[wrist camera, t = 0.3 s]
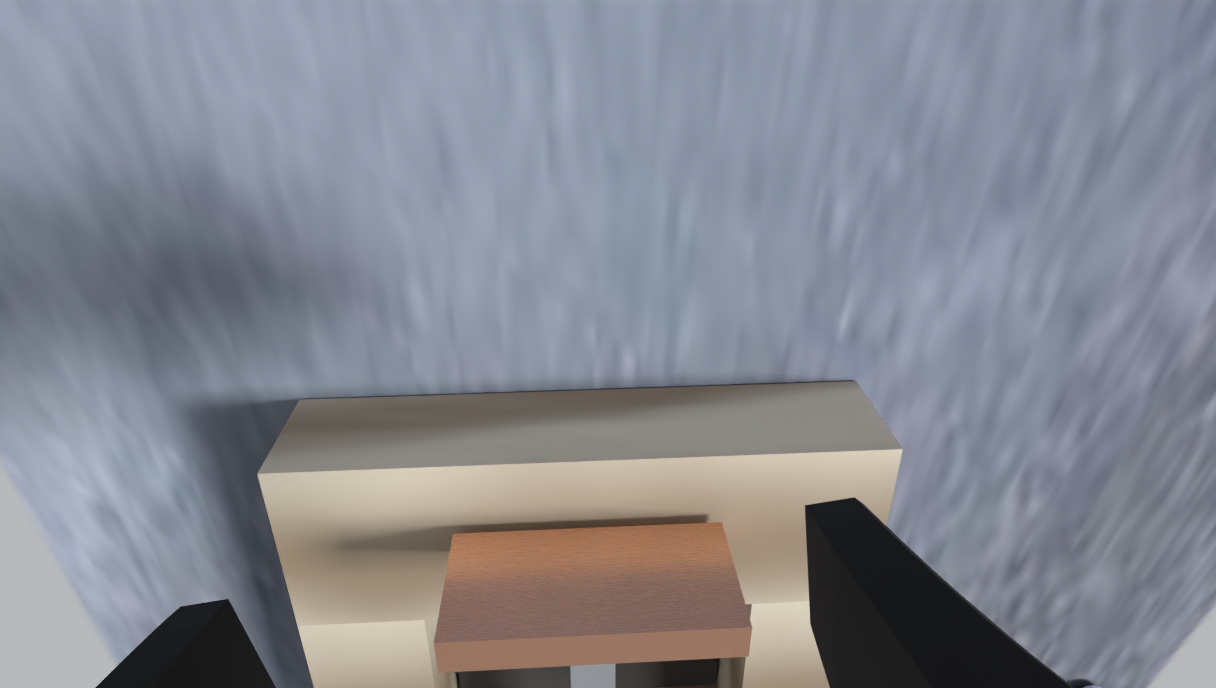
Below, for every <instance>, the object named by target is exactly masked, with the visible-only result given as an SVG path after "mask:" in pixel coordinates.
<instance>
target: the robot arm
mask: <svg viewBox="0 0 1216 688" xmlns="http://www.w3.org/2000/svg"><path fill="white" fill-rule="evenodd" d="M805 520H806V542H807V564H808V585H809V607H810V625H811V628H812V631H813V635H814V638H815V641H816V644H817V648H818V651H819V654H820V658H821V661H822V664H823V667H824V671H825V674H826V677H827V680H828V683H829V686H830V688H1074V687H1072V686H1071V685H1070V684H1068V683H1067V682H1066V681H1065V680H1063V679H1062V678H1061V677H1059V676H1058V675H1057V674H1056V673H1054V672H1053V671H1052V670H1050V669H1049V668H1048V667H1047V666H1045V665H1044V664H1043V663H1042V662H1040V661H1039V660H1038V659H1036V658H1035V657H1034V656H1033V655H1032V654H1030V653H1029V652H1028V651H1027V650H1025V649H1024V648H1023V647H1022V646H1021V645H1019V644H1018V643H1017V642H1016V641H1014V640H1013V639H1012V638H1011V637H1009V636H1008V635H1007V634H1006V633H1005V632H1004V631H1002V630H1001V629H1000V628H999V627H998V626H997V625H995V624H994V623H993V622H992V621H991V620H990V619H988V618H987V617H986V616H985V615H984V614H983V613H981V612H980V611H979V610H978V609H977V608H976V607H974V606H973V605H972V604H971V603H970V602H968V601H967V600H966V599H965V598H964V597H963V596H961V595H960V594H959V593H958V592H957V591H956V590H955V589H954V588H952V587H951V586H950V585H949V584H948V583H947V582H946V581H945V580H943V579H942V578H941V577H940V576H939V575H938V574H937V573H936V572H935V571H934V570H932V569H931V568H930V567H929V566H928V565H927V564H926V563H925V562H924V561H923V560H922V559H921V558H919V557H918V556H917V555H916V554H915V553H914V552H913V551H912V550H911V549H910V548H909V547H908V546H907V545H906V544H905V543H903V542H902V541H901V540H900V539H899V538H898V537H897V536H896V535H895V534H894V533H893V532H892V531H891V530H890V529H889V528H888V527H887V526H886V525H885V524H884V523H883V522H882V521H881V520H880V519H879V518H878V517H877V516H875V515H874V514H873V513H872V512H871V511H870V510H869V509H868V508H867V507H866V506H865V505H864V504H863V503H862V502H860V501H859V500H858V499H856V498H855V497H853V498H847V499H841V500H835V501H829V502H822V503H816V504H810V505H805ZM96 688H276V687H275V685H274V684H273V682H272V680H271V678H270V676H269V674H268V672H267V670H266V669H265V667H264V665H263V663H262V661H261V659H260V657H259V656H258V654H257V652H256V650H255V648H254V646H253V644H252V643H251V641H250V639H249V637H248V635H247V633H246V631H245V630H244V628H243V626H242V624H241V622H240V620H239V618H238V616H237V615H236V613H235V611H234V609H233V607H232V605H231V603H230V602H229V600H228V599H225V600H219V601H213V602H207V603H201V604H195V605H188V606H182V607H180V608H179V609H177V610H176V611H175V612H174V613H173V614H172V615H171V616H170V617H168V618H167V619H166V620H165V621H164V622H163V623H162V624H161V625H160V626H158V627H157V628H156V629H155V630H154V631H153V632H152V633H151V634H150V635H149V636H148V637H147V638H146V639H145V640H144V641H143V642H142V643H141V644H140V645H138V646H137V647H136V648H135V649H134V650H133V651H132V652H131V653H130V654H129V655H128V656H127V657H126V658H125V659H124V660H123V661H122V662H121V663H120V664H119V665H118V666H117V667H116V668H115V669H114V670H113V671H112V672H111V673H110V674H109V675H108V676H107V677H106V678H105V679H104V680H103V681H102V682H101V683H100V684H99V685H98V686H97V687H96ZM1083 688H1101V687H1099V686H1096V685H1090V686H1085V687H1083Z"/></svg>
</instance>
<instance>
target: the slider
mask: <svg viewBox="0 0 1216 688" xmlns="http://www.w3.org/2000/svg"><path fill="white" fill-rule="evenodd" d="M751 633H752V625H751V621H750V618H749V614H748V611H747V607H746V604H745V600H744V597H743V594H742V590H741V587H740V583H739V580H738V576H737V573H736V569H735V566H734V562H733V559H732V555H731V552H730V548H729V545H728V542H727V538H726V535H725V531H724V528H723V524H722V522H714V523H690V524H667V525H643V526H620V527H597V528H573V529H550V530H526V531H503V532H480V533H456V534H453V536H452V542H451V548H450V553H449V559H448V565H447V570H446V576H445V582H444V588H443V593H442V599H441V605H440V610H439V616H438V622H437V627H436V633H435V639H434V649H435V655H436V662H437V668H438V673H445V672H464V671H483V670H502V669H521V668H541V667H560V666H570V671H571V688H615V664H617V663H636V662H656V661H675V660H694V659H713V658H732V657H749V650H750V642H751Z"/></svg>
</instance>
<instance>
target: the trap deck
mask: <svg viewBox="0 0 1216 688" xmlns="http://www.w3.org/2000/svg"><path fill="white" fill-rule="evenodd" d="M902 451H903V449H902V447H901V446H900V444H899V443H898V441H897V440H896V439H895V437H894V436H893V434H892V433H891V431H890V430H889V428H888V427H887V426H886V424H885V423H884V421H883V420H882V418H881V417H880V415H879V414H878V413H877V411H876V410H875V408H874V407H873V405H872V404H871V402H870V401H869V400H868V398H867V397H866V395H865V394H864V392H863V391H862V389H861V388H860V387H859V385H858V384H857V382H856V381H843V382H813V383H783V384H753V385H723V386H693V387H663V388H633V389H603V390H573V391H543V392H513V393H483V394H453V395H424V396H394V397H364V398H334V399H304V400H299V401H298V403H297V405H296V406H295V408H294V410H293V412H292V413H291V415H290V417H289V419H288V420H287V422H286V424H285V426H284V427H283V429H282V431H281V433H280V435H279V436H278V438H277V440H276V442H275V443H274V445H273V447H272V449H271V450H270V452H269V454H268V456H267V457H266V459H265V461H264V463H263V464H262V466H261V468H260V470H259V471H258V473H257V475H258V479H259V483H260V486H261V490H262V494H263V498H264V502H265V505H266V509H267V513H268V517H269V520H270V524H271V528H272V532H273V535H274V539H275V543H276V547H277V551H278V554H279V558H280V562H281V566H282V569H283V573H284V577H285V581H286V584H287V588H288V592H289V596H290V600H291V603H292V607H293V611H294V615H295V618H296V622H297V626H298V630H299V633H300V637H301V641H302V645H303V649H304V652H305V656H306V660H307V664H308V667H309V671H310V675H311V679H312V682H313V686H314V688H571V671H570V666H560V667H541V668H521V669H502V670H483V671H464V672H445V673H438V668H437V662H436V655H435V649H434V639H435V633H436V627H437V622H438V616H439V610H440V605H441V599H442V593H443V588H444V582H445V576H446V570H447V565H448V559H449V553H450V548H451V542H452V536H453V534H456V533H480V532H503V531H526V530H550V529H573V528H597V527H620V526H643V525H667V524H690V523H714V522H722V524H723V528H724V531H725V535H726V538H727V542H728V545H729V548H730V552H731V555H732V559H733V562H734V566H735V569H736V573H737V576H738V580H739V583H740V587H741V590H742V594H743V597H744V600H745V604H746V607H747V611H748V614H749V618H750V621H751V625H752V633H751V642H750V650H749V657H732V658H713V659H694V660H675V661H656V662H636V663H617V664H615V688H830V686H829V683H828V680H827V677H826V674H825V671H824V667H823V664H822V661H821V658H820V654H819V651H818V648H817V644H816V641H815V638H814V635H813V631H812V628H811V625H810V607H809V585H808V564H807V542H806V520H805V505H810V504H816V503H822V502H829V501H835V500H841V499H847V498H853V497H855V498H856V499H858V500H859V501H860V502H862V503H863V504H864V505H865V506H866V507H867V508H868V509H869V510H870V511H871V512H872V513H873V514H874V515H875V516H877V517H878V518H879V519H880V520H881V521H882V522H883V523H884V524H885V525H886V526H887V521H888V516H889V512H890V507H891V502H892V498H893V493H894V488H895V484H896V479H897V474H898V469H899V465H900V460H901V455H902Z"/></svg>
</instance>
